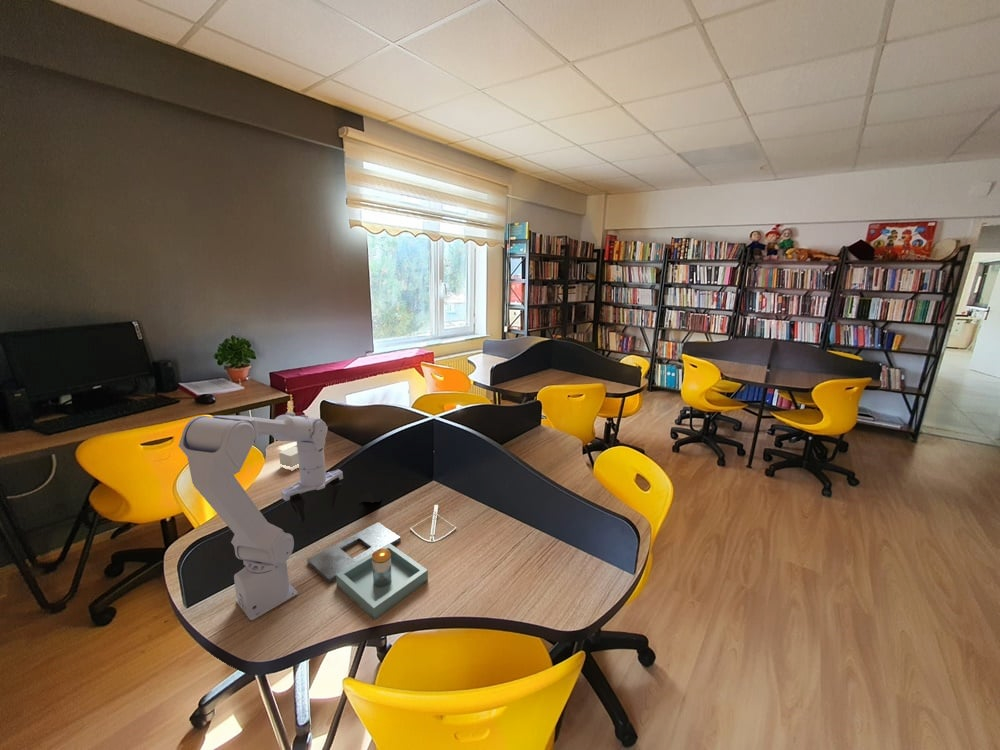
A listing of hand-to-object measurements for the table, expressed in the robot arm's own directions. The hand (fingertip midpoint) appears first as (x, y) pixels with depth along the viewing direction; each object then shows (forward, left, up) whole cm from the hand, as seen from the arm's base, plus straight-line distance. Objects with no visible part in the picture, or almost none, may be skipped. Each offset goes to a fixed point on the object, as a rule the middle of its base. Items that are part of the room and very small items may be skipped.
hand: (316, 513), depth 102 cm
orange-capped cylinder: (+3, -23, -9) cm, 25 cm away
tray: (+3, -23, -9) cm, 25 cm away
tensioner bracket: (+5, -9, -9) cm, 14 cm away
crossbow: (+26, -15, -10) cm, 32 cm away
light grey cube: (+16, +48, -10) cm, 52 cm away
